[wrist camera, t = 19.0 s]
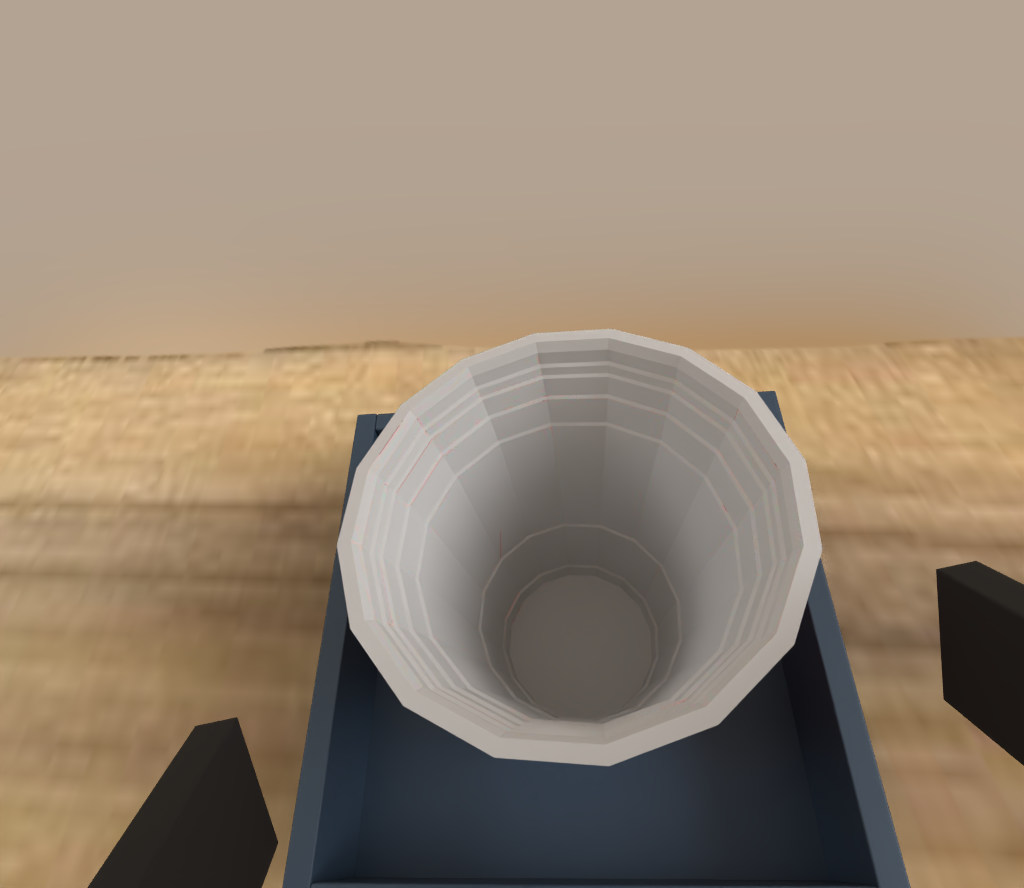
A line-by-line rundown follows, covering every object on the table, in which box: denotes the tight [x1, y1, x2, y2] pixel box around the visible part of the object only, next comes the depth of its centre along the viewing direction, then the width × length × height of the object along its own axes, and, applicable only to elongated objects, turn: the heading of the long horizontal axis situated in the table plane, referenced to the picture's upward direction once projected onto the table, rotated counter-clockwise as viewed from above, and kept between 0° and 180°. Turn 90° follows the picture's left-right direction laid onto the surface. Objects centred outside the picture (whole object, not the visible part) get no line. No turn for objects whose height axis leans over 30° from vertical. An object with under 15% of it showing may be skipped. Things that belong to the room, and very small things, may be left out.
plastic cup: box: [337, 329, 822, 766], centre depth 19 cm, size 11×11×12 cm
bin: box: [282, 391, 911, 888], centre depth 23 cm, size 17×17×5 cm
